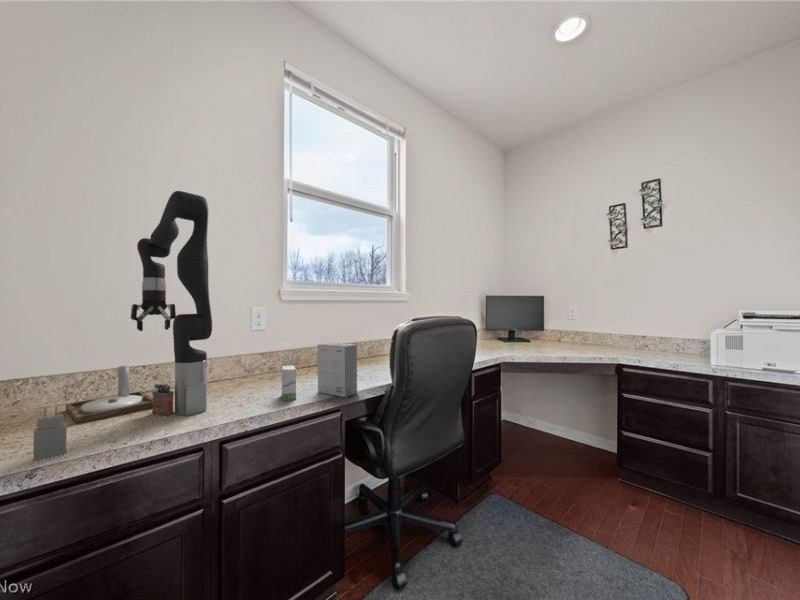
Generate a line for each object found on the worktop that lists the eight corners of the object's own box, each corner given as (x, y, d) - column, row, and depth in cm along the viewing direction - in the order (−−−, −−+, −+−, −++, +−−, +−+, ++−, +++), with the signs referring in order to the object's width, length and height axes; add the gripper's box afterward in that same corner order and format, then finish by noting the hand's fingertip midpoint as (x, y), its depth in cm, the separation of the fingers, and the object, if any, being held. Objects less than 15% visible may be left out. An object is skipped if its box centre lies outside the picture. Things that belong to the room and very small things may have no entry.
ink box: (296, 399, 126) (296, 368, 126) (282, 401, 124) (282, 369, 124) (294, 393, 134) (294, 364, 134) (281, 395, 132) (281, 365, 132)
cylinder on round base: (153, 397, 124) (153, 365, 124) (120, 412, 108) (120, 374, 108) (107, 399, 123) (107, 365, 123) (67, 414, 106) (67, 375, 106)
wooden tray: (158, 407, 117) (158, 401, 117) (76, 424, 100) (76, 417, 100) (141, 396, 130) (141, 391, 130) (65, 410, 113) (65, 404, 113)
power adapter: (34, 458, 79) (34, 408, 79) (66, 450, 83) (66, 403, 83) (33, 462, 77) (33, 411, 77) (66, 454, 81) (66, 405, 81)
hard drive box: (357, 393, 134) (357, 344, 134) (345, 398, 128) (345, 346, 128) (330, 388, 143) (330, 342, 143) (316, 392, 136) (316, 344, 136)
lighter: (176, 413, 110) (176, 383, 110) (166, 417, 107) (166, 386, 107) (159, 411, 113) (159, 382, 113) (149, 414, 109) (149, 384, 110)
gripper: (134, 288, 123) (134, 332, 123) (178, 289, 134) (178, 329, 134) (128, 289, 128) (128, 331, 128) (171, 290, 139) (171, 328, 139)
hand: (154, 330), depth 131 cm, fingers open, 8 cm apart
